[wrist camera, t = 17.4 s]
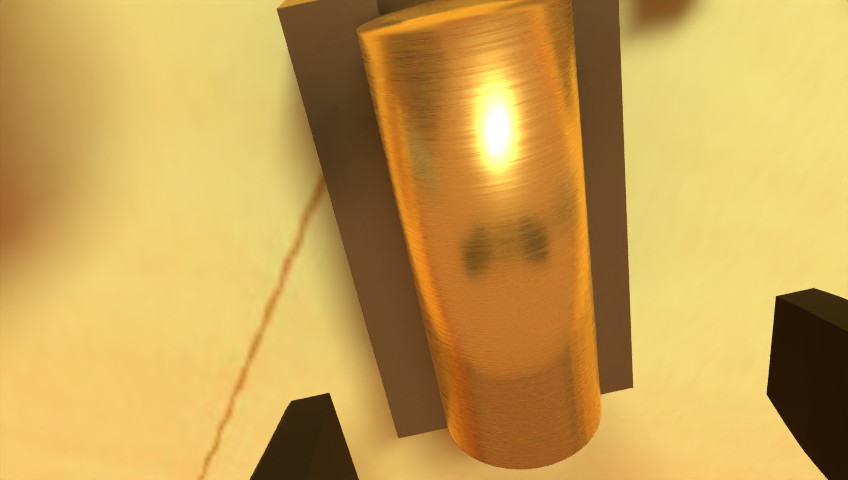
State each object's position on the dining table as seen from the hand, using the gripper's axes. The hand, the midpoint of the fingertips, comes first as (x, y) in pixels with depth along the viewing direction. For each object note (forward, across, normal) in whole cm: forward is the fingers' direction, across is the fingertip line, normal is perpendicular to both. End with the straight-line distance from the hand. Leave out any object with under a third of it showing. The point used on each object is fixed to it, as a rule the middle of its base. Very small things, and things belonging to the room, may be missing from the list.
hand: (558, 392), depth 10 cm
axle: (+5, 0, 0) cm, 5 cm away
